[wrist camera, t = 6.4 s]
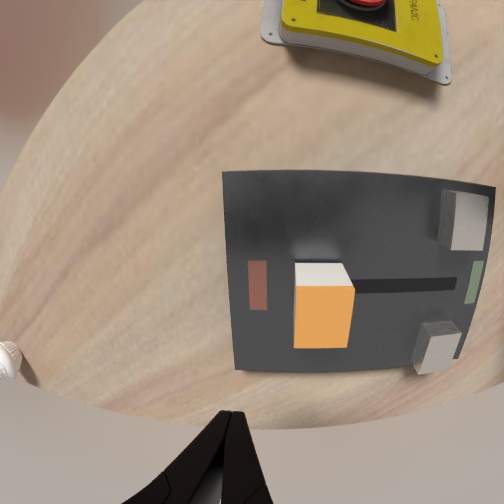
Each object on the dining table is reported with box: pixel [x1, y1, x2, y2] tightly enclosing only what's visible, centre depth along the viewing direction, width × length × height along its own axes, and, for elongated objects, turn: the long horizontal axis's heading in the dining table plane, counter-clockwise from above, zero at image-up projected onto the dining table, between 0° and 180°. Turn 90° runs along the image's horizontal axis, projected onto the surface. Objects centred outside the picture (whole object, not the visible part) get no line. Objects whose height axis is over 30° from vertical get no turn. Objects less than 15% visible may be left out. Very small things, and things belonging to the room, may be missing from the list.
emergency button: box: [260, 0, 452, 85], centre depth 12 cm, size 9×4×15 cm
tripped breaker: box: [294, 263, 355, 348], centre depth 16 cm, size 3×4×4 cm
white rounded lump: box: [0, 342, 23, 379], centre depth 27 cm, size 6×6×7 cm
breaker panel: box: [222, 170, 496, 375], centre depth 18 cm, size 20×15×4 cm
